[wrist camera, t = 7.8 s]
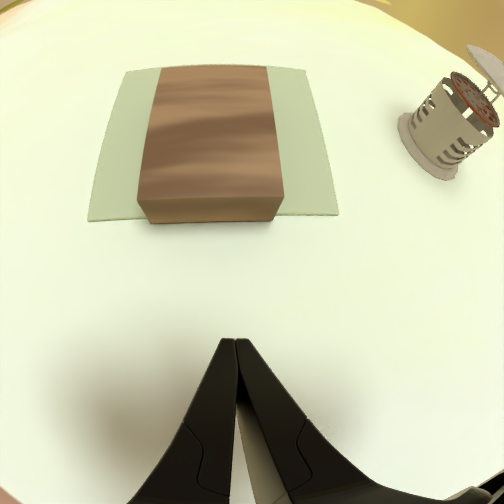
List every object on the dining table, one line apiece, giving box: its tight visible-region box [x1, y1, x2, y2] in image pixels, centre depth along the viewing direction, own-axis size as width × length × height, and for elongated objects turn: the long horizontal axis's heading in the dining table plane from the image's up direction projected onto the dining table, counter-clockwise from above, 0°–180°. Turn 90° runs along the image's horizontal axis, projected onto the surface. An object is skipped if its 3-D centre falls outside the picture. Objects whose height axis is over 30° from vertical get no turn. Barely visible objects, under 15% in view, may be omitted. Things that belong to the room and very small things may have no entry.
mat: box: [87, 64, 339, 222], centre depth 22 cm, size 18×20×1 cm
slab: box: [137, 65, 285, 223], centre depth 20 cm, size 4×9×13 cm
